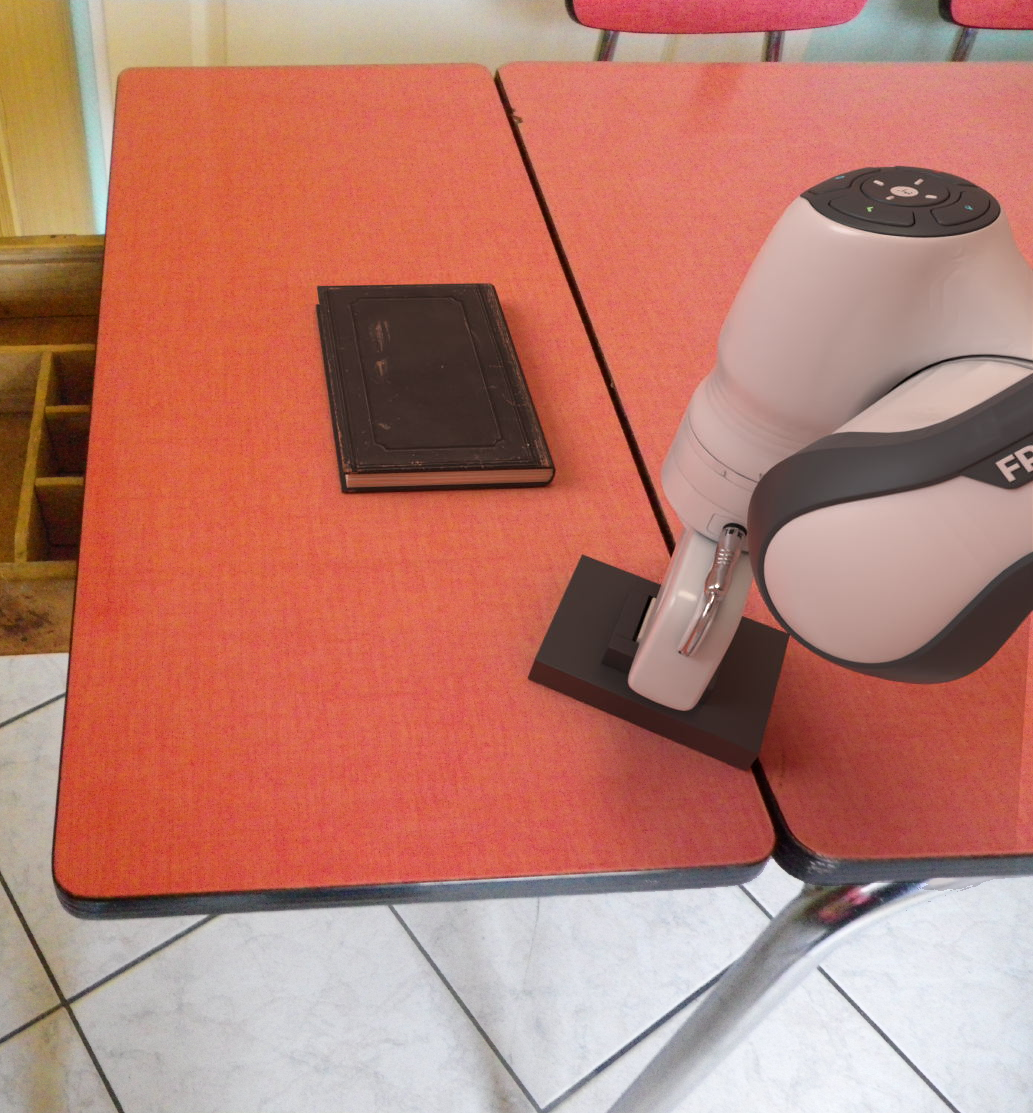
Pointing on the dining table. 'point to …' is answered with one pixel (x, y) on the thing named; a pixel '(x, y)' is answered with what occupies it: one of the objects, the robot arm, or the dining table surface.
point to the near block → (609, 650)
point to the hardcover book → (427, 390)
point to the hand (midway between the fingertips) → (671, 627)
